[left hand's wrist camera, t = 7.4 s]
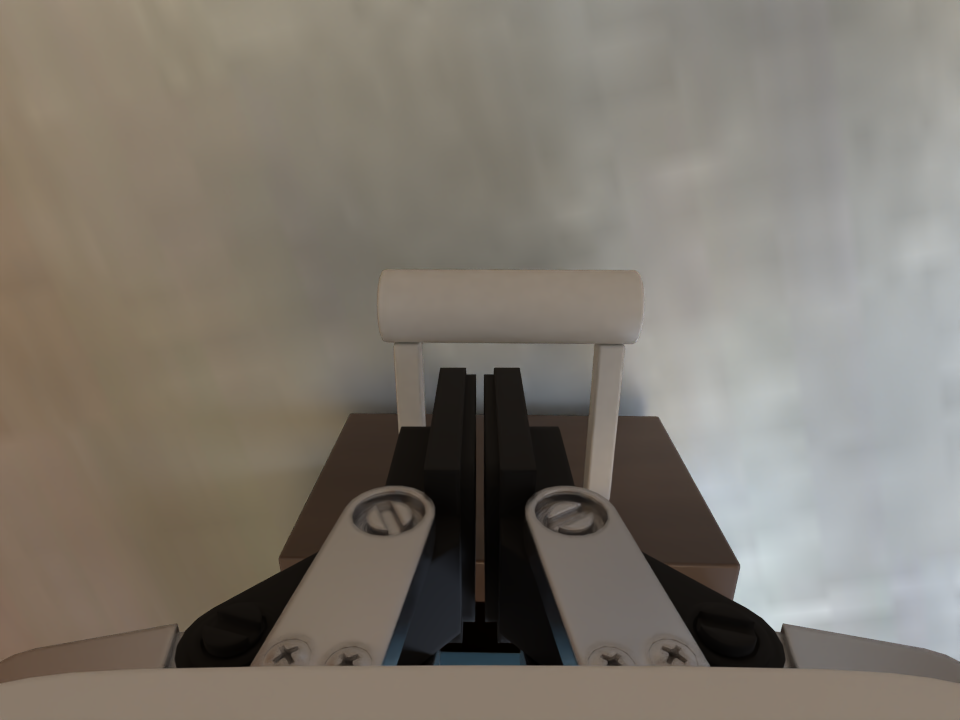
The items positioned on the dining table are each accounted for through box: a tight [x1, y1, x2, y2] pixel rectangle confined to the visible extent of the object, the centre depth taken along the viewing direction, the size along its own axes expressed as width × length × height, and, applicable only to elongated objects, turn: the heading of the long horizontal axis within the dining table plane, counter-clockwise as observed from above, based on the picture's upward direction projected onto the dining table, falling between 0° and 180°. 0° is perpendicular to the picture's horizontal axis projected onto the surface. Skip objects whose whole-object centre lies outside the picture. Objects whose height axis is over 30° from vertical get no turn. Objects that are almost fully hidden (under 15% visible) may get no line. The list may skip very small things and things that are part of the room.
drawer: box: [279, 269, 740, 653], centre depth 18 cm, size 26×10×7 cm, turn 0°
